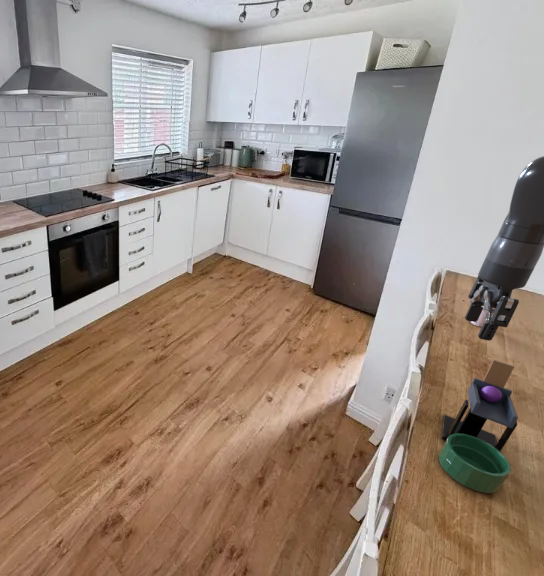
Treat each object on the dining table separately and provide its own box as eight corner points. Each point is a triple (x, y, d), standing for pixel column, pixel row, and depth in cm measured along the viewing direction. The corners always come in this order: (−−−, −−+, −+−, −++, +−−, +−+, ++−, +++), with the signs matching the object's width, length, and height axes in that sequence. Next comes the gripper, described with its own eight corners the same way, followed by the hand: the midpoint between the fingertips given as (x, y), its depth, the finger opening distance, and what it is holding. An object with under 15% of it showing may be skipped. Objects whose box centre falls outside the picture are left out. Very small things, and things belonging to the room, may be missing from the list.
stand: (443, 417, 83) (461, 380, 79) (493, 437, 78) (516, 399, 74) (441, 441, 77) (461, 403, 72) (496, 465, 72) (521, 426, 67)
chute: (467, 391, 78) (484, 356, 75) (504, 404, 75) (523, 368, 72) (471, 413, 70) (490, 374, 67) (512, 428, 67) (533, 389, 64)
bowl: (459, 446, 76) (469, 429, 74) (510, 487, 68) (523, 468, 66) (426, 457, 73) (435, 439, 71) (475, 500, 65) (487, 481, 63)
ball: (484, 395, 76) (490, 382, 75) (501, 405, 73) (508, 391, 72) (474, 396, 75) (480, 383, 74) (491, 406, 72) (498, 393, 71)
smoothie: (490, 324, 124) (510, 287, 118) (488, 331, 120) (508, 292, 114) (467, 317, 128) (485, 280, 122) (464, 323, 124) (482, 285, 118)
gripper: (552, 276, 66) (511, 350, 73) (517, 252, 78) (485, 318, 85) (501, 268, 69) (466, 341, 76) (475, 246, 81) (447, 311, 88)
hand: (476, 329), depth 80 cm, fingers open, 8 cm apart
